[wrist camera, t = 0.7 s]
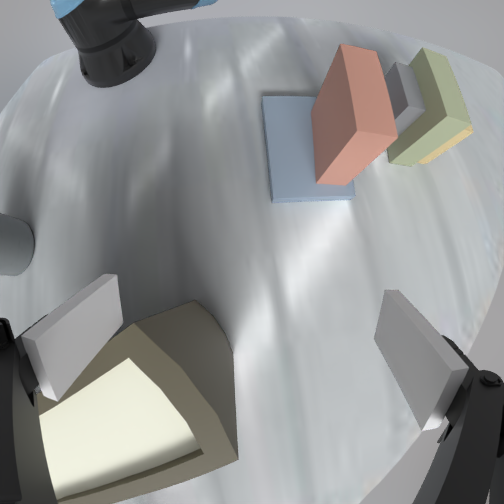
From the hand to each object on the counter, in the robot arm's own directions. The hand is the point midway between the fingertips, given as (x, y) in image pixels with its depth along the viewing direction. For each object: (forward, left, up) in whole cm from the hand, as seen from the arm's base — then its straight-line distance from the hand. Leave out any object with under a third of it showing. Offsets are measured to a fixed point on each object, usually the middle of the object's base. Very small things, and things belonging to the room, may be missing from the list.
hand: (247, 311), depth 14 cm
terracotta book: (-21, +12, -25) cm, 35 cm away
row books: (-27, +28, -27) cm, 47 cm away
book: (+10, -12, -28) cm, 32 cm away
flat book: (-22, +9, -27) cm, 36 cm away
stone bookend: (-28, +22, -27) cm, 45 cm away
